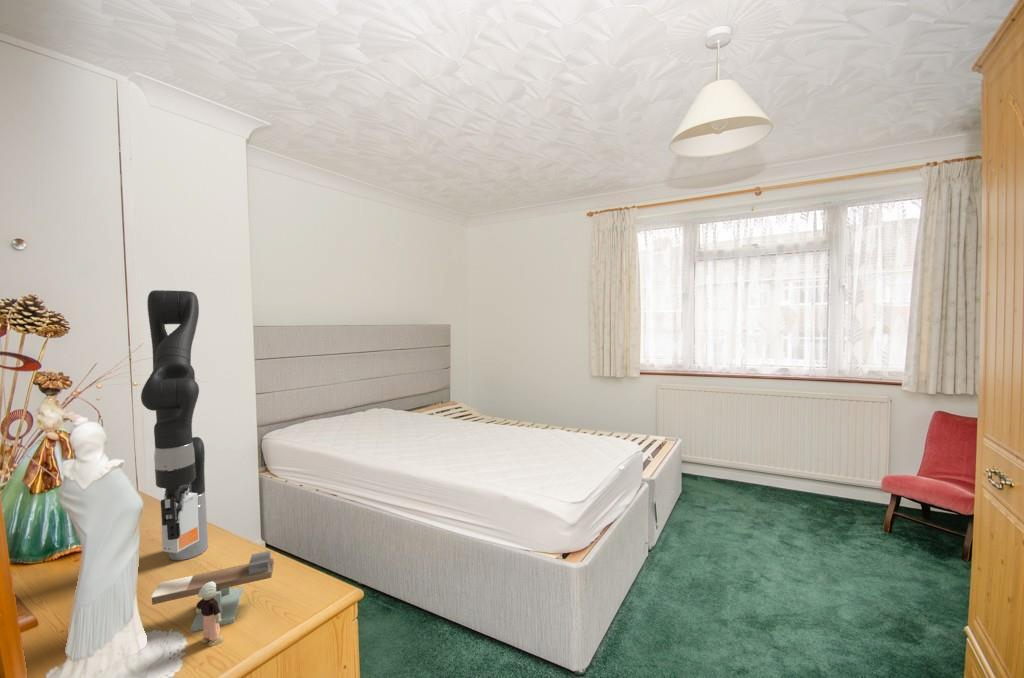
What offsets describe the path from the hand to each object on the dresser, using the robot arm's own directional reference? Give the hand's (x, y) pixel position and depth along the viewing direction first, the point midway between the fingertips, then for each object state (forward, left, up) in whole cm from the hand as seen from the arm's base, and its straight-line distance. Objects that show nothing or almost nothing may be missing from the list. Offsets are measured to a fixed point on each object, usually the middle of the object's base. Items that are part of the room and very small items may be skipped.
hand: (179, 530), depth 106 cm
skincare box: (0, 0, -4) cm, 4 cm away
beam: (+6, +8, -12) cm, 16 cm away
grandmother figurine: (+16, +9, -18) cm, 26 cm away
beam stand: (+6, +8, -18) cm, 21 cm away
